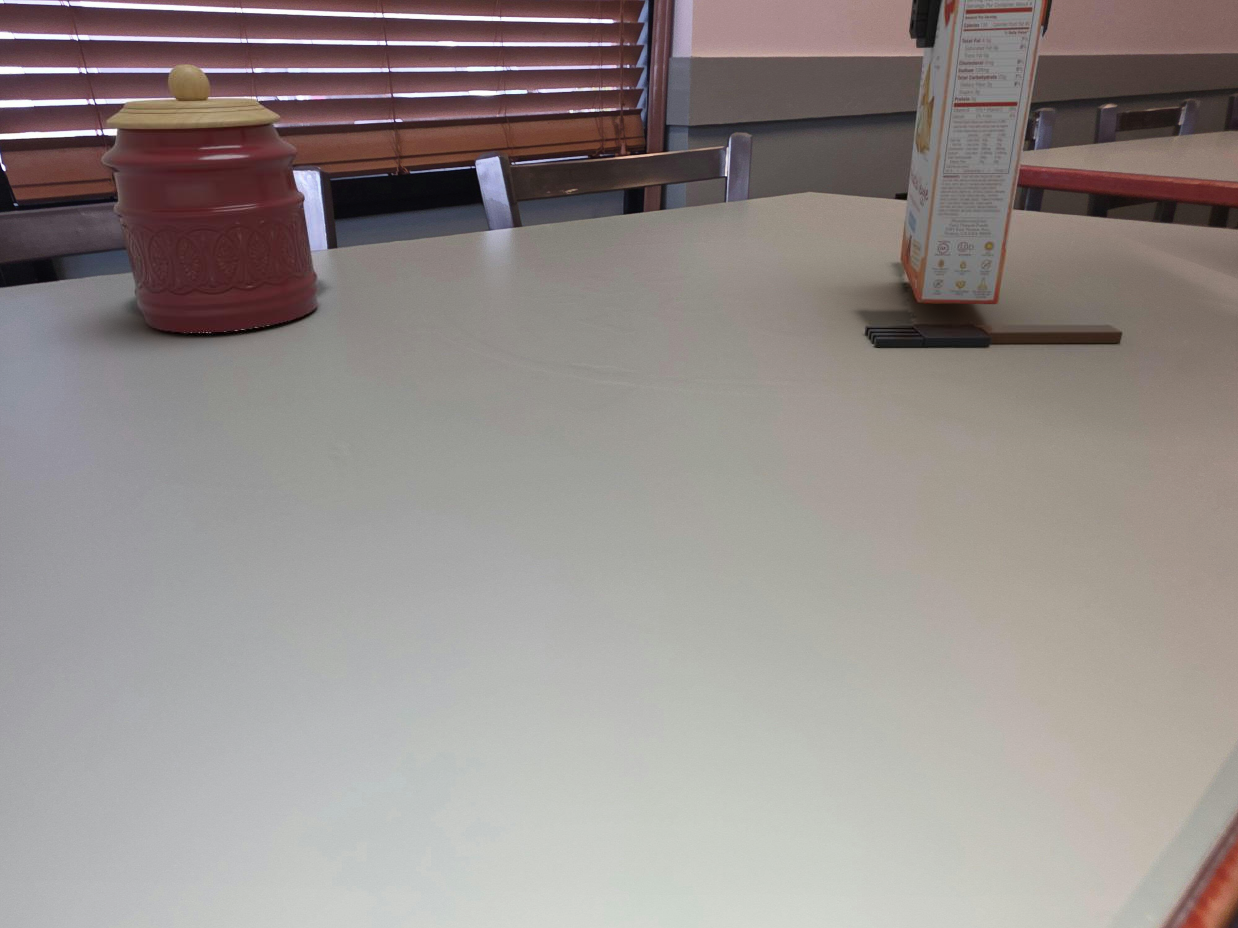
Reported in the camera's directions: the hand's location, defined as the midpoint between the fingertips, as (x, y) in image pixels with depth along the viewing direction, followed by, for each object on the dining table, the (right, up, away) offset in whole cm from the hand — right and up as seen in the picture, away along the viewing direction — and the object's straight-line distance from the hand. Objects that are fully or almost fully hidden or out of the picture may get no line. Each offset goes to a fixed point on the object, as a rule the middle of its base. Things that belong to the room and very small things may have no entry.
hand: (975, 46), depth 61 cm
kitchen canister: (-55, -18, +7) cm, 58 cm away
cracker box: (0, -15, +7) cm, 17 cm away
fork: (+1, -21, -1) cm, 21 cm away
